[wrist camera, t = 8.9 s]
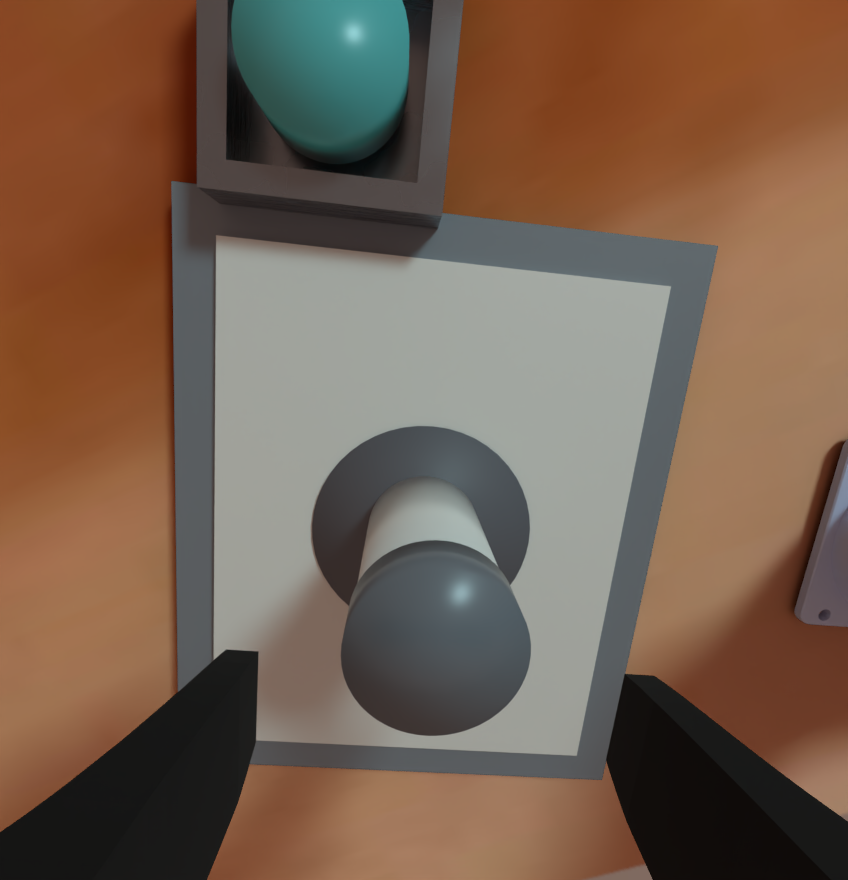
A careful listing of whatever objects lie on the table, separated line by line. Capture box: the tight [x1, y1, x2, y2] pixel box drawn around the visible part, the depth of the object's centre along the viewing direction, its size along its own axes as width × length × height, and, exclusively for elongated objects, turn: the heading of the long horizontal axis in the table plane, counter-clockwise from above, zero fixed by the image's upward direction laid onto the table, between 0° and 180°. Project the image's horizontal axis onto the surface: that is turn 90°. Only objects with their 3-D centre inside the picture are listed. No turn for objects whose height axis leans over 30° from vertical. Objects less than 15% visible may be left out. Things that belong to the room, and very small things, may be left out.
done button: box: [231, 0, 409, 164], centre depth 13 cm, size 4×4×2 cm
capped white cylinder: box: [341, 476, 531, 736], centre depth 14 cm, size 4×4×7 cm
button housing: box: [197, 0, 463, 229], centre depth 14 cm, size 7×7×2 cm
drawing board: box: [171, 181, 718, 780], centre depth 18 cm, size 18×22×1 cm
